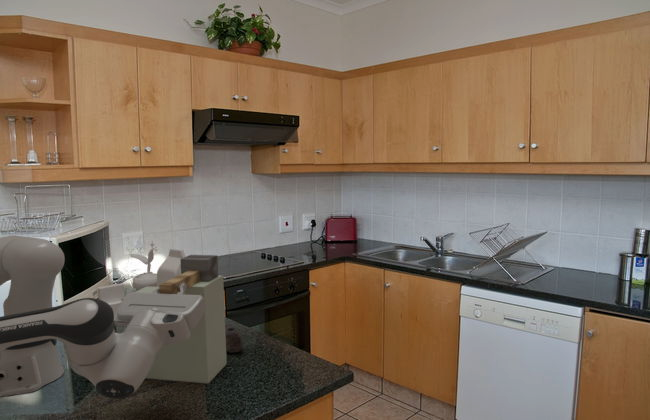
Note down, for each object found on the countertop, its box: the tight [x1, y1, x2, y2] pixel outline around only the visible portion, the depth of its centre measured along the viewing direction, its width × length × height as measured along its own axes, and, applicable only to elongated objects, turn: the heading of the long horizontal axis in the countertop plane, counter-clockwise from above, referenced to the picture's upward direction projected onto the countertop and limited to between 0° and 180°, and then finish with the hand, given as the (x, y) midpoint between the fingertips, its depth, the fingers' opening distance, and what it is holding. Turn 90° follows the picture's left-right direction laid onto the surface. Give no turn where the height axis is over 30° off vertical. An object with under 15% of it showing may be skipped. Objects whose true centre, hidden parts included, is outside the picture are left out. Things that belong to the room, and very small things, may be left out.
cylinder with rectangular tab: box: [97, 282, 125, 316], centre depth 177 cm, size 9×9×12 cm
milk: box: [156, 248, 186, 287], centre depth 174 cm, size 12×12×26 cm
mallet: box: [159, 254, 219, 294], centre depth 121 cm, size 21×8×6 cm, turn 169°
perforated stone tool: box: [225, 324, 243, 354], centre depth 147 cm, size 15×5×7 cm, turn 20°
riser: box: [122, 274, 228, 384], centre depth 130 cm, size 12×24×26 cm, turn 79°
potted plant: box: [129, 241, 158, 291], centre depth 200 cm, size 13×12×25 cm
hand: (175, 284), depth 116 cm, fingers closed on mallet, 3 cm apart
